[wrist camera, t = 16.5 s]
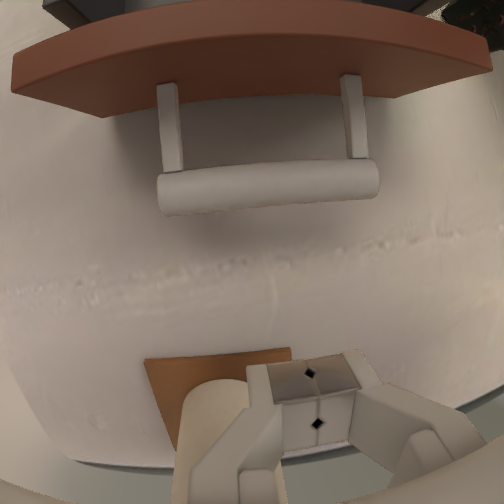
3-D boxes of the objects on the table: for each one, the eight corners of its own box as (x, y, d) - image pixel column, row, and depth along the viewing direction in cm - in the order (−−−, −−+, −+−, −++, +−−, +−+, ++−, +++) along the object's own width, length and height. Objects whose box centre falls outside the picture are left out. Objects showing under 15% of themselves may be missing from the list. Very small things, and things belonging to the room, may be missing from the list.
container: (191, 440, 18) (181, 620, 5) (172, 379, 16) (135, 607, 4) (273, 433, 18) (308, 616, 5) (269, 371, 16) (318, 606, 4)
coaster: (176, 447, 18) (175, 451, 18) (145, 358, 16) (143, 362, 16) (291, 439, 19) (292, 443, 18) (289, 346, 17) (291, 350, 16)
